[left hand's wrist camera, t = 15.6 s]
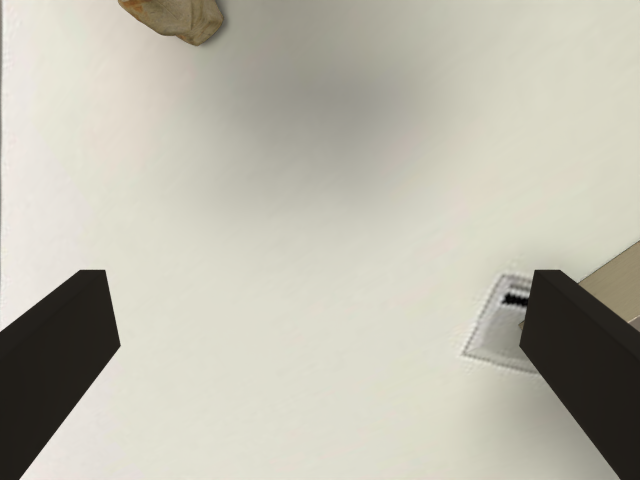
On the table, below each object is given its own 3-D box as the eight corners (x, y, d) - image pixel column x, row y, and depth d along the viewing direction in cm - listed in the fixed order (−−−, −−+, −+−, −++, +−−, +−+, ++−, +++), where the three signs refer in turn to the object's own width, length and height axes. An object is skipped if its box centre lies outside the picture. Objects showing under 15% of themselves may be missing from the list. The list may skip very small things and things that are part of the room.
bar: (696, 201, 45) (776, 226, 37) (717, 234, 46) (798, 265, 38) (518, 324, 50) (554, 369, 42) (541, 351, 52) (581, 399, 44)
